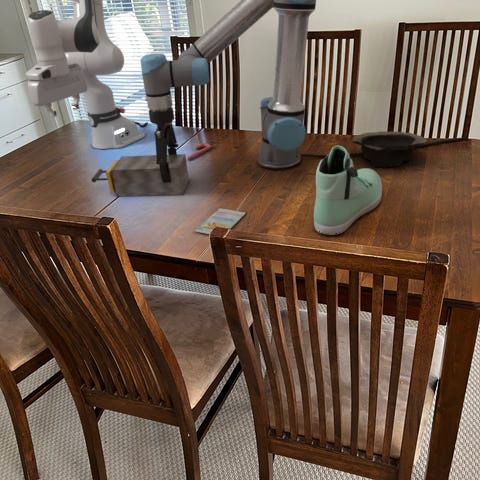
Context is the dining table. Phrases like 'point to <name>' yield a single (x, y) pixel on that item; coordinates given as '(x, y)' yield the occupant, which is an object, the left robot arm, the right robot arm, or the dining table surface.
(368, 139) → the stone bowl
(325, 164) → the sneaker
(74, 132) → the dining table surface
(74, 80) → the left robot arm
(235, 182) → the dining table surface
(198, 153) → the candy cane
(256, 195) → the dining table surface
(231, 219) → the baking ingredient package
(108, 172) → the drawer
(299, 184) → the dining table surface
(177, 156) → the grey zigzag patterned box
